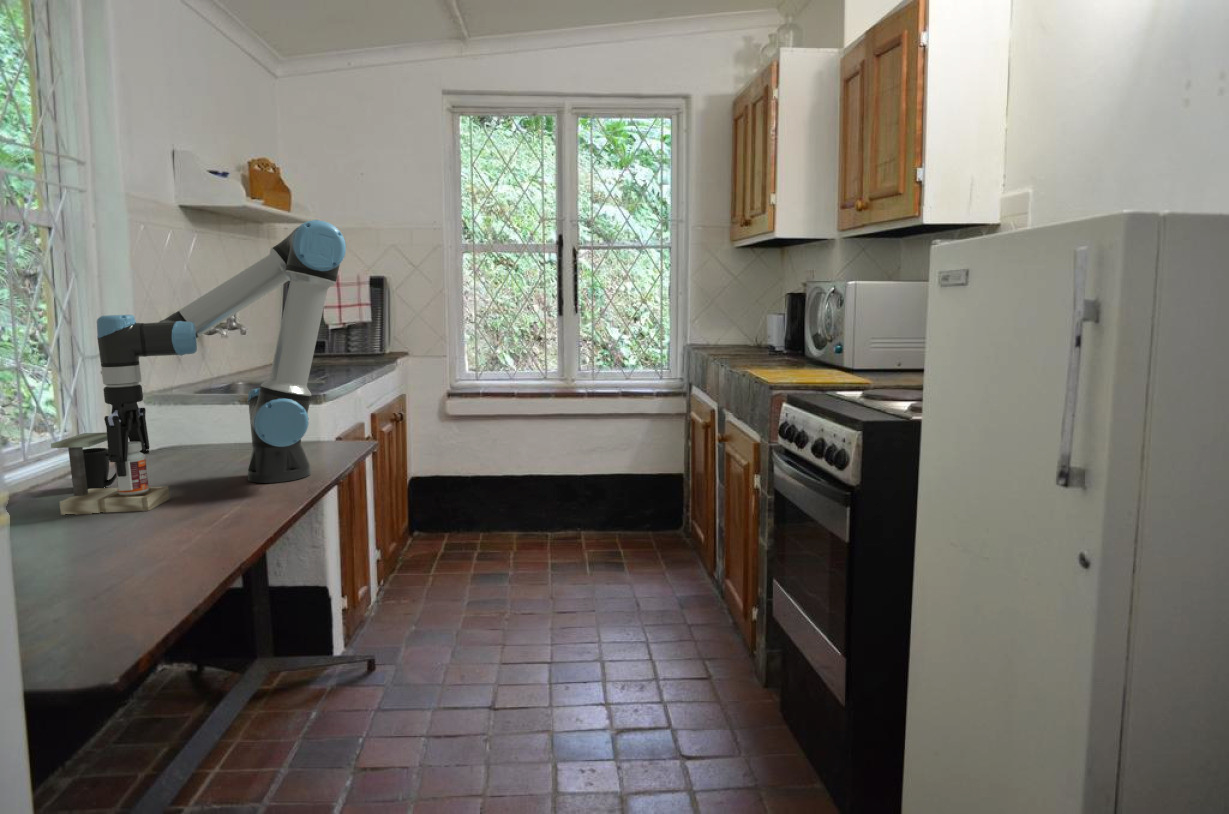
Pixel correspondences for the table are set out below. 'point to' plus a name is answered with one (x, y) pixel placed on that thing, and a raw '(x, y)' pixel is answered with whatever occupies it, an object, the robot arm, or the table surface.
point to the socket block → (101, 497)
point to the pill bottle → (136, 469)
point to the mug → (97, 468)
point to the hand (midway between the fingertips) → (133, 486)
